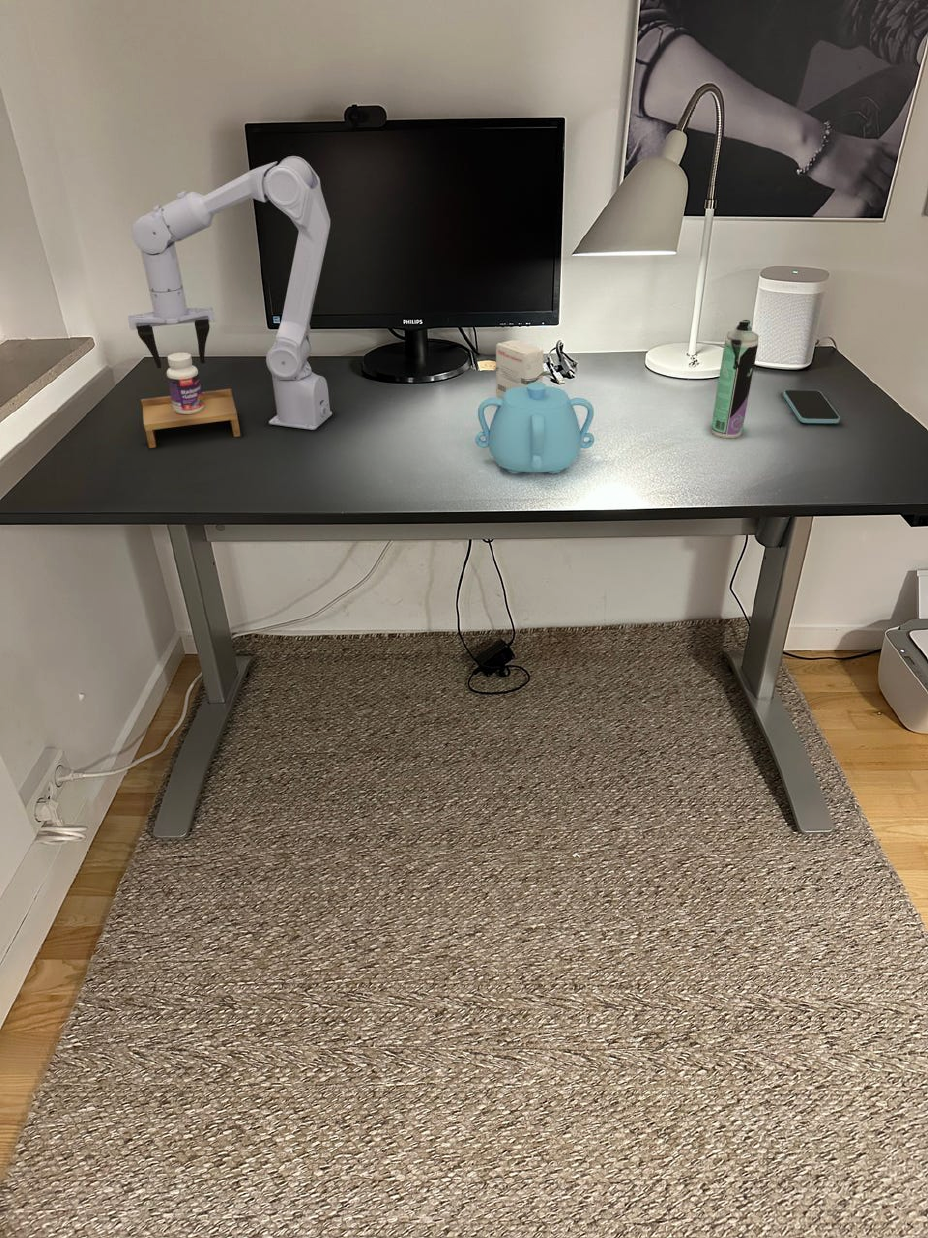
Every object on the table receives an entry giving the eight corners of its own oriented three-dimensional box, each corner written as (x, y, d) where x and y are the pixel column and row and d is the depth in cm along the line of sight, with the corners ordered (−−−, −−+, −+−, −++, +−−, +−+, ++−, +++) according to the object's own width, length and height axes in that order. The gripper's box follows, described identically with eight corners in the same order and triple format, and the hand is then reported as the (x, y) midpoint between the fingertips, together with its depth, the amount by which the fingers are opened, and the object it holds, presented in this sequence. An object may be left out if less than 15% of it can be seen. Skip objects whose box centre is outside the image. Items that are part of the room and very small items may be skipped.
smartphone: (819, 390, 177) (841, 419, 164) (818, 395, 177) (840, 425, 165) (782, 389, 177) (801, 418, 165) (781, 394, 178) (800, 424, 165)
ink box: (543, 410, 172) (546, 348, 166) (524, 416, 170) (526, 355, 163) (513, 396, 178) (514, 337, 171) (493, 403, 175) (494, 342, 168)
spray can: (742, 439, 161) (763, 326, 149) (710, 437, 162) (728, 325, 150) (741, 426, 165) (761, 316, 154) (710, 424, 166) (727, 314, 154)
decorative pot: (539, 433, 164) (542, 360, 156) (601, 464, 153) (607, 387, 145) (467, 458, 156) (466, 381, 148) (527, 492, 145) (529, 412, 138)
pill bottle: (187, 417, 160) (176, 363, 154) (167, 410, 163) (156, 357, 157) (211, 407, 164) (201, 354, 158) (191, 400, 166) (181, 348, 161)
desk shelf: (235, 417, 171) (230, 388, 168) (240, 436, 164) (235, 406, 161) (147, 428, 167) (141, 398, 164) (149, 448, 160) (142, 417, 157)
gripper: (122, 298, 152) (140, 376, 160) (210, 289, 156) (223, 366, 164) (122, 286, 158) (139, 362, 166) (207, 278, 161) (219, 353, 169)
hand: (180, 363), depth 165 cm, fingers open, 7 cm apart
